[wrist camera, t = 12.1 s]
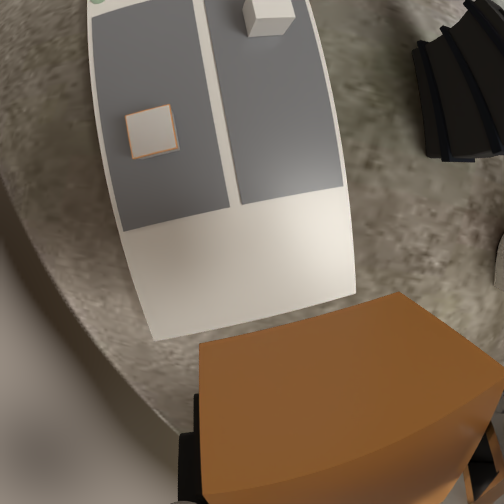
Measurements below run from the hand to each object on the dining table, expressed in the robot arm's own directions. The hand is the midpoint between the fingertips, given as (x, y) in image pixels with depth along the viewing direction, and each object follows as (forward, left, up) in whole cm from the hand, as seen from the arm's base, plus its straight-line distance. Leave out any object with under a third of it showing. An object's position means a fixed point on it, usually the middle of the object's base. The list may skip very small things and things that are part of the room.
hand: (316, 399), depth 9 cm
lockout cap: (0, 0, 0) cm, 0 cm away
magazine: (+12, -20, -15) cm, 28 cm away
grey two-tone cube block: (+10, +4, -12) cm, 17 cm away
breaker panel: (+10, 0, -15) cm, 18 cm away
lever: (+17, -4, -12) cm, 22 cm away
